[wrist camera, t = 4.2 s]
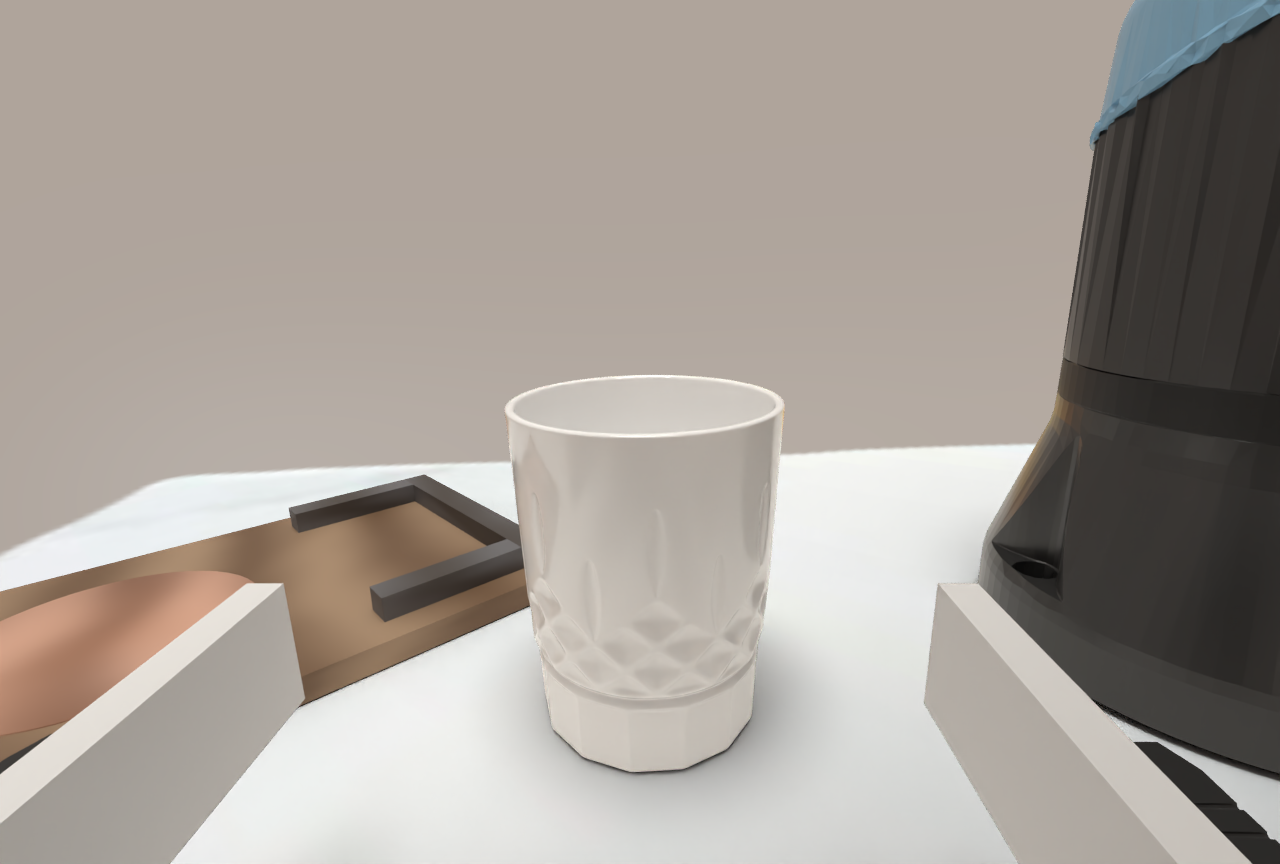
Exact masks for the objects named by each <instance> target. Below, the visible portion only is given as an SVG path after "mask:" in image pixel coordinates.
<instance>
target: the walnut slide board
mask: <svg viewBox="0 0 1280 864" xmlns="http://www.w3.org/2000/svg"><path fill="white" fill-rule="evenodd" d="M289 512H290V517H291V518H287V519H283V520H279V521H275V522H272V523H268V524H264V525H260V526H256V527H252V528H248V529H244V530H240V531H236V532H232V533H228V534H224V535H221V536H217V537H213V538H209V539H205V540H201V541H197V542H193V543H189V544H185V545H181V546H177V547H173V548H170V549H166V550H162V551H158V552H154V553H150V554H146V555H142V556H138V557H134V558H130V559H126V560H122V561H119V562H115V563H111V564H107V565H103V566H99V567H95V568H91V569H87V570H83V571H79V572H75V573H71V574H68V575H64V576H60V577H56V578H52V579H48V580H44V581H40V582H36V583H32V584H28V585H24V586H21V587H17V588H13V589H9V590H5V591H1V592H0V762H1V761H3V760H4V759H5V758H7V757H9V756H11V755H13V754H15V753H16V752H18V751H20V750H22V749H24V748H26V747H27V746H29V745H31V744H33V743H35V742H37V741H38V740H40V739H42V738H44V737H46V736H48V735H49V734H53V733H54V732H56V731H57V730H58V729H59V728H61V727H62V726H63V725H65V724H66V723H67V722H68V721H70V720H71V719H72V718H74V717H75V716H76V715H78V714H79V713H80V712H81V711H83V710H84V709H85V708H87V707H88V706H89V705H90V704H92V703H93V702H94V701H96V700H97V699H98V698H99V697H101V696H102V695H103V694H105V693H106V692H107V691H109V690H110V689H111V688H112V687H114V686H115V685H116V684H118V683H119V682H120V681H121V680H123V679H124V678H125V677H127V676H128V675H129V674H131V673H132V672H133V671H134V670H136V669H137V668H138V667H140V666H141V665H142V664H143V663H145V662H146V661H147V660H149V659H150V658H151V657H152V656H154V655H155V654H156V653H158V652H159V651H160V650H162V649H163V648H164V647H165V646H167V645H168V644H169V643H171V642H172V641H173V640H174V639H176V638H177V637H178V636H180V635H181V634H182V633H183V632H185V631H186V630H187V629H189V628H190V627H191V626H193V625H194V624H195V623H196V622H198V621H199V620H200V619H202V618H203V617H204V616H205V615H207V614H208V613H209V612H211V611H212V610H213V609H214V608H216V607H217V606H218V605H220V604H221V603H222V602H224V601H225V600H226V599H227V598H229V597H230V596H231V595H233V594H234V593H235V592H236V591H238V590H239V589H240V588H242V587H243V586H244V585H245V584H247V583H284V589H285V594H286V599H287V605H288V610H289V615H290V621H291V626H292V631H293V637H294V642H295V647H296V653H297V658H298V663H299V669H300V674H301V679H302V685H303V690H304V695H305V699H304V701H303V702H302V703H301V704H300V705H299V706H301V705H303V704H305V703H308V702H310V701H312V700H314V699H317V698H319V697H321V696H324V695H326V694H328V693H330V692H333V691H335V690H337V689H340V688H342V687H344V686H347V685H349V684H351V683H353V682H356V681H358V680H360V679H363V678H365V677H367V676H369V675H372V674H374V673H376V672H379V671H381V670H383V669H385V668H388V667H390V666H392V665H395V664H397V663H399V662H401V661H404V660H406V659H408V658H411V657H413V656H415V655H418V654H420V653H422V652H424V651H427V650H429V649H431V648H434V647H436V646H438V645H440V644H443V643H445V642H447V641H450V640H452V639H454V638H456V637H459V636H461V635H463V634H466V633H468V632H470V631H472V630H475V629H477V628H479V627H482V626H484V625H486V624H488V623H491V622H493V621H495V620H498V619H500V618H502V617H505V616H507V615H509V614H511V613H514V612H516V611H518V610H521V609H523V608H525V607H527V606H530V603H529V599H528V593H527V585H526V578H525V570H524V562H523V554H522V546H521V537H520V529H519V525H518V524H516V523H514V522H512V521H510V520H508V519H507V518H505V517H503V516H501V515H499V514H497V513H495V512H494V511H492V510H490V509H488V508H486V507H484V506H482V505H480V504H479V503H477V502H475V501H473V500H471V499H469V498H467V497H465V496H464V495H462V494H460V493H458V492H456V491H454V490H452V489H450V488H449V487H447V486H445V485H443V484H441V483H439V482H437V481H435V480H434V479H432V478H430V477H428V476H426V475H421V476H417V477H413V478H409V479H405V480H401V481H397V482H393V483H388V484H384V485H380V486H376V487H372V488H368V489H364V490H360V491H356V492H352V493H348V494H344V495H340V496H335V497H331V498H327V499H323V500H319V501H315V502H311V503H307V504H303V505H299V506H295V507H291V508H289Z"/></svg>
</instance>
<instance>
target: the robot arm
mask: <svg viewBox="0 0 1280 864" xmlns="http://www.w3.org/2000/svg"><path fill="white" fill-rule="evenodd" d="M1090 148H1091V149H1092V150H1093V151H1094V156H1093V163H1092V169H1091V176H1090V183H1089V189H1088V195H1087V202H1086V208H1085V215H1084V221H1083V228H1082V234H1081V241H1080V248H1079V254H1078V261H1077V267H1076V274H1075V280H1074V287H1073V293H1072V300H1071V306H1070V313H1069V319H1068V326H1067V333H1066V339H1065V346H1064V353H1063V361H1062V367H1061V373H1060V379H1059V386H1058V391H1057V397H1056V402H1055V408H1054V411H1053V414H1052V417H1051V419H1050V421H1049V423H1048V425H1047V427H1046V429H1045V430H1044V432H1043V434H1042V435H1041V437H1040V439H1039V441H1038V442H1037V444H1036V446H1035V448H1034V449H1033V451H1032V453H1031V455H1030V456H1029V458H1028V460H1027V462H1026V463H1025V465H1024V467H1023V469H1022V471H1021V472H1020V474H1019V476H1018V478H1017V479H1016V481H1015V483H1014V485H1013V486H1012V488H1011V490H1010V492H1009V493H1008V495H1007V497H1006V499H1005V500H1004V502H1003V504H1002V506H1001V508H1000V509H999V511H998V513H997V515H996V516H995V518H994V520H993V522H992V523H991V525H990V527H989V529H988V531H987V533H986V536H985V539H984V543H983V548H982V555H981V563H980V570H979V577H978V583H938V587H937V595H936V604H935V612H934V621H933V629H932V638H931V646H930V655H929V663H928V672H927V680H926V689H925V697H924V704H925V706H926V708H927V709H928V711H929V713H930V714H931V716H932V718H933V720H934V721H935V723H936V725H937V726H938V728H939V730H940V731H941V733H942V735H943V736H944V738H945V740H946V741H947V743H948V745H949V747H950V748H951V750H952V752H953V753H954V755H955V757H956V758H957V760H958V762H959V763H960V765H961V767H962V769H963V770H964V772H965V774H966V775H967V777H968V779H969V780H970V782H971V784H972V785H973V787H974V789H975V791H976V792H977V794H978V796H979V797H980V799H981V801H982V802H983V804H984V806H985V807H986V809H987V811H988V813H989V814H990V816H991V818H992V819H993V821H994V823H995V824H996V826H997V828H998V829H999V831H1000V833H1001V835H1002V836H1003V838H1004V840H1005V841H1006V843H1007V845H1008V846H1009V848H1010V850H1011V851H1012V853H1013V855H1014V857H1015V858H1016V860H1017V862H1018V863H1019V864H1280V844H1279V843H1278V842H1277V841H1276V840H1273V839H1270V838H1269V837H1268V835H1267V831H1265V830H1264V829H1263V828H1262V827H1261V826H1260V825H1259V824H1258V823H1257V822H1256V821H1255V820H1254V819H1253V818H1252V817H1251V816H1250V815H1249V814H1247V813H1246V812H1245V811H1244V810H1239V809H1238V807H1237V803H1236V802H1235V801H1234V800H1233V799H1232V798H1231V797H1229V796H1228V795H1227V794H1226V793H1225V792H1224V791H1223V790H1222V789H1221V788H1220V787H1219V786H1218V785H1217V784H1216V783H1215V782H1214V781H1212V780H1211V779H1210V778H1209V777H1208V776H1207V775H1206V774H1205V773H1204V772H1203V771H1202V770H1201V769H1199V768H1197V767H1196V766H1194V765H1193V764H1191V763H1189V762H1188V761H1186V760H1185V759H1183V758H1182V757H1180V756H1178V755H1177V754H1175V753H1174V752H1172V751H1171V750H1169V749H1167V748H1166V747H1164V746H1163V745H1161V744H1160V743H1158V742H1132V740H1131V739H1130V738H1129V737H1128V736H1127V735H1126V734H1125V733H1124V732H1123V731H1122V730H1121V729H1120V728H1119V727H1118V726H1117V725H1116V724H1115V723H1114V722H1113V721H1112V720H1111V719H1110V718H1109V717H1108V716H1107V715H1106V714H1105V713H1104V712H1103V711H1102V710H1101V709H1100V708H1099V707H1098V706H1097V705H1096V704H1095V703H1094V702H1093V701H1092V700H1091V699H1090V698H1092V699H1094V700H1096V701H1097V702H1099V703H1101V704H1103V705H1105V706H1107V707H1109V708H1111V709H1113V710H1115V711H1117V712H1119V713H1121V714H1123V715H1125V716H1127V717H1129V718H1131V719H1134V720H1136V721H1138V722H1140V723H1142V724H1144V725H1146V726H1149V727H1151V728H1153V729H1156V730H1158V731H1160V732H1163V733H1165V734H1167V735H1170V736H1172V737H1175V738H1177V739H1180V740H1182V741H1185V742H1187V743H1190V744H1192V745H1195V746H1197V747H1200V748H1203V749H1206V750H1208V751H1211V752H1214V753H1217V754H1219V755H1222V756H1225V757H1228V758H1231V759H1234V760H1237V761H1240V762H1243V763H1246V764H1249V765H1252V766H1256V767H1259V768H1262V769H1266V770H1269V771H1273V772H1276V773H1279V774H1280V0H1135V2H1134V3H1133V5H1132V6H1131V8H1130V10H1129V12H1128V14H1127V16H1126V18H1125V20H1124V22H1123V24H1122V27H1121V30H1120V33H1119V36H1118V41H1117V45H1116V50H1115V54H1114V59H1113V63H1112V68H1111V73H1110V77H1109V81H1108V86H1107V90H1106V95H1105V99H1104V104H1103V109H1102V113H1101V117H1100V121H1099V122H1096V123H1095V127H1094V129H1093V131H1092V134H1091V137H1090ZM1089 697H1090V698H1089ZM304 699H305V695H304V690H303V685H302V679H301V674H300V669H299V663H298V658H297V653H296V647H295V642H294V637H293V631H292V626H291V621H290V615H289V610H288V605H287V599H286V594H285V589H284V583H247V584H245V585H244V586H243V587H242V588H240V589H239V590H238V591H236V592H235V593H234V594H233V595H231V596H230V597H229V598H227V599H226V600H225V601H224V602H222V603H221V604H220V605H218V606H217V607H216V608H214V609H213V610H212V611H211V612H209V613H208V614H207V615H205V616H204V617H203V618H202V619H200V620H199V621H198V622H196V623H195V624H194V625H193V626H191V627H190V628H189V629H187V630H186V631H185V632H183V633H182V634H181V635H180V636H178V637H177V638H176V639H174V640H173V641H172V642H171V643H169V644H168V645H167V646H165V647H164V648H163V649H162V650H160V651H159V652H158V653H156V654H155V655H154V656H152V657H151V658H150V659H149V660H147V661H146V662H145V663H143V664H142V665H141V666H140V667H138V668H137V669H136V670H134V671H133V672H132V673H131V674H129V675H128V676H127V677H125V678H124V679H123V680H121V681H120V682H119V683H118V684H116V685H115V686H114V687H112V688H111V689H110V690H109V691H107V692H106V693H105V694H103V695H102V696H101V697H99V698H98V699H97V700H96V701H94V702H93V703H92V704H90V705H89V706H88V707H87V708H85V709H84V710H83V711H81V712H80V713H79V714H78V715H76V716H75V717H74V718H72V719H71V720H70V721H68V722H67V723H66V724H65V725H63V726H62V727H61V728H59V729H58V730H57V731H56V732H54V733H53V734H49V735H48V736H46V737H44V738H42V739H40V740H38V741H37V742H35V743H33V744H31V745H29V746H27V747H26V748H24V749H22V750H20V751H18V752H16V753H15V754H13V755H11V756H9V757H7V758H5V759H4V760H3V761H1V762H0V864H170V863H171V862H172V861H173V859H174V858H175V857H176V856H177V854H178V853H179V852H180V851H181V850H182V848H183V847H184V846H185V845H186V843H187V842H188V841H189V840H190V839H191V837H192V836H193V835H194V834H195V832H196V831H197V830H198V829H199V828H200V826H201V825H202V824H203V823H204V822H205V820H206V819H207V818H208V817H209V815H210V814H211V813H212V812H213V811H214V809H215V808H216V807H217V806H218V804H219V803H220V802H221V801H222V800H223V798H224V797H225V796H226V795H227V793H228V792H229V791H230V790H231V789H232V787H233V786H234V785H235V784H236V782H237V781H238V780H239V779H240V778H241V776H242V775H243V774H244V773H245V771H246V770H247V769H248V768H249V767H250V765H251V764H252V763H253V762H254V760H255V759H256V758H257V757H258V756H259V754H260V753H261V752H262V751H263V749H264V748H265V747H266V746H267V745H268V743H269V742H270V741H271V740H272V738H273V737H274V736H275V735H276V734H277V732H278V731H279V730H280V729H281V727H282V726H283V725H284V724H285V723H286V721H287V720H288V719H289V718H290V716H291V715H292V714H293V713H294V712H295V710H296V709H297V708H298V707H299V705H300V704H301V703H302V702H303V701H304Z"/></svg>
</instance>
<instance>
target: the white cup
mask: <svg viewBox="0 0 1280 864" xmlns="http://www.w3.org/2000/svg"><path fill="white" fill-rule="evenodd" d="M784 409H785V403H784V401H783V400H782V398H781V397H780V396H779V395H777V394H776V393H774V392H772V391H770V390H768V389H765V388H762V387H759V386H756V385H752V384H748V383H743V382H738V381H732V380H726V379H718V378H709V377H697V376H678V375H632V376H612V377H600V378H590V379H582V380H575V381H569V382H562V383H557V384H553V385H548V386H544V387H540V388H536V389H533V390H530V391H527V392H525V393H522V394H520V395H518V396H516V397H515V398H513V399H511V400H510V401H509V402H508V403H507V404H506V406H505V418H506V426H507V433H508V441H509V449H510V457H511V465H512V473H513V481H514V489H515V497H516V505H517V514H518V521H519V529H520V537H521V546H522V554H523V562H524V570H525V578H526V585H527V593H528V599H529V603H530V607H531V611H532V622H533V631H534V638H535V641H536V643H537V644H538V646H539V649H540V655H541V662H542V671H543V680H544V688H545V695H546V700H547V705H548V710H549V714H550V719H551V724H552V728H553V729H554V730H555V731H556V732H557V733H558V734H559V735H560V736H561V737H562V738H563V739H564V740H565V741H566V742H567V743H568V744H570V745H571V746H572V747H573V748H574V749H575V750H576V751H577V752H578V753H579V754H580V755H581V756H582V757H584V758H587V759H590V760H593V761H596V762H600V763H603V764H606V765H609V766H612V767H616V768H619V769H622V770H625V771H629V772H644V771H662V770H678V769H685V768H687V767H690V766H692V765H694V764H696V763H698V762H700V761H703V760H705V759H707V758H709V757H711V756H713V755H715V754H717V753H720V752H722V751H724V750H726V749H727V748H729V746H730V745H731V744H732V742H733V741H734V740H735V738H736V737H737V736H738V734H739V733H740V732H741V730H742V729H743V728H744V726H745V725H746V724H747V722H748V721H749V720H750V718H751V715H752V707H753V694H754V680H755V667H756V658H757V650H758V641H759V638H760V634H761V632H762V629H763V626H764V624H763V619H764V613H765V606H766V599H767V590H768V583H769V575H770V565H771V554H772V542H773V531H774V519H775V507H776V496H777V484H778V473H779V462H780V451H781V441H782V430H783V419H784Z"/></svg>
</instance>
